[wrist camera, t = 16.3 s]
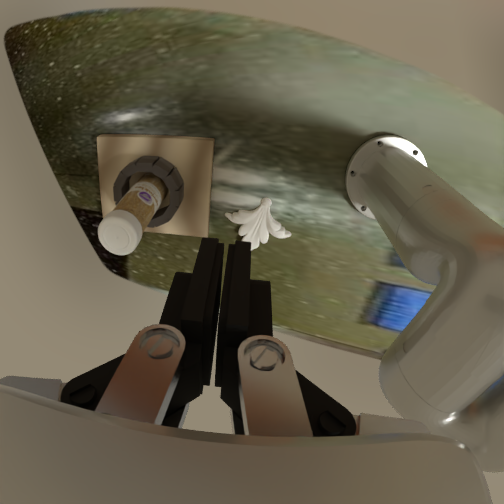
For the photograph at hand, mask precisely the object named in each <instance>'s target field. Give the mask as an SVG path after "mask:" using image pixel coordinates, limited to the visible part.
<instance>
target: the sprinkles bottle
mask: <svg viewBox="0 0 504 504" xmlns="http://www.w3.org/2000/svg"><path fill="white" fill-rule="evenodd" d="M167 193H168V188H167V186H166V184H165V182H164V181H163V179H161V178H159V177H158V176H156V175H155V174H153V173H147V174H144V175H143V176H141V177H140V178H139V180H138V182H137V183H136V184H135V185H133V187H132V188H131V189H130V190H129V191H128V192H127V193H126V194H125V196H124V197H123V198H122V199H121V200H120V201H119V203H118V204H117V206H116V207H115V208H114V209H113V211H111V212H110V213H108V214H107V215H106V216H105V218H104V219H103V220H102V221H101V223H100V225H99V227H98V237H99V240H100V242H101V244H102V245H103V246H104V247H105V248H106V249H107V250H108V251H110V252H111V253H114V254H117V255H126V254H129V253H131V252H132V251H133V250H134V249H135V248H136V247H137V245H138V243H139V242H140V240H141V238H142V233H143V232H144V230H145V228H146V227H147V225H148V224H149V222H150V221H151V219H152V217H153V216H154V214H155V213H156V211H157V209H158V208H159V206H160V204H161V202H162V201H163V200H164V199H165V198H166V196H167Z"/></svg>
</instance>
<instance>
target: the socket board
mask: <svg viewBox="0 0 504 504" xmlns="http://www.w3.org/2000/svg"><path fill="white" fill-rule="evenodd" d="M214 142H215V138H203V137H188V136H169V135H139V134H101V135H99V136H98V137H97V152H98V169H99V182H100V194H101V204H102V213H103V219H104V218H105V216H106V215H107V214H108V213H110V212H111V211H113V209H114V208H115V207H116V206H117V204H118V203H119V201H120V200H121V199H122V198H123V197H124V196H125V194H126V193H127V192H128V191H129V190H130V189H131V188H132V187H133V185H135V184H136V183H137V182H138V180H139V178H140V177H141V176H143V175H144V174H147V173H153V174H155V175H156V176H158V177H159V178H161V179H163V181H164V182H165V184H166V186H167V188H168V193H167V196H166V198H165V199H164V200H163V201H162V202H161V204H160V206H159V208H158V209H157V211H156V213H155V214H154V216H153V217H152V219H151V221H150V222H149V224H148V225H147V227H146V228H145V230H144V231H145V232H156V233H166V234H176V235H187V236H197V237H208V233H209V218H210V200H211V184H212V169H213V155H214Z"/></svg>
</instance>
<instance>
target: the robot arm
mask: <svg viewBox="0 0 504 504" xmlns="http://www.w3.org/2000/svg"><path fill="white" fill-rule="evenodd" d="M378 141H379V142H380V143H379V144H377V143H378ZM413 150H414V152H413ZM351 171H353V173H351ZM345 184H346V190H347V193H348V196H349V198H350V200H351V202H352V203H353V205H354V206H355V208H356V209H357V210H358V211H359V212H360V213H362V214H363V215H365V216H367V217H369V218H371V219H374V220H377V221H378V223H379V225H380V226H381V228H382V229H383V231H384V232H385V234H386V236H387V237H388V239H389V240H390V242H391V244H392V245H393V247H394V248H395V250H396V252H397V253H398V255H399V257H400V258H401V260H402V262H403V263H404V265H405V266H406V268H407V269H408V270H409V272H410V273H411V274H412V275H414V276H415V277H416V278H418V279H419V280H421V281H423V282H425V283H428V284H432V285H436V286H437V287H436V288H435V290H434V291H433V293H432V294H431V296H430V297H429V298H428V299H427V301H426V303H425V304H424V306H423V307H422V308H421V309H420V311H419V312H418V313H417V314H416V316H415V317H414V318H413V319H412V320H411V322H410V323H409V324H408V325H407V326H406V328H405V329H404V330H403V331H402V332H401V333H400V335H399V336H398V337H397V338H396V340H395V341H394V342H393V343H392V344H391V346H390V347H389V348H388V350H387V351H386V353H385V354H384V356H383V358H382V360H381V363H380V367H379V382H380V386H381V389H382V391H383V393H384V395H385V397H386V399H387V400H388V402H389V403H390V404H391V406H392V407H393V408H394V409H395V410H396V411H397V412H398V413H399V414H400V415H401V416H402V417H403V418H404V419H401V418H393V417H385V416H378V415H371V414H365V413H360V415H359V416H358V415H352V414H351V413H350V412H349V411H348V410H347V409H346V408H345V407H344V406H342V405H341V404H340V403H338V402H337V401H336V400H334V399H333V398H332V397H330V396H329V395H328V394H326V393H325V392H324V391H322V390H321V389H320V388H318V387H317V386H316V385H314V384H313V383H312V382H311V381H309V380H308V379H307V378H305V377H304V376H303V375H301V374H300V373H299V372H298V371H296V370H295V367H294V364H293V360H292V357H291V353H290V351H289V349H288V347H287V346H286V345H285V344H284V343H283V342H282V341H280V340H278V339H277V338H274V337H273V333H272V332H273V330H272V306H271V285H270V281H262V280H252V279H250V266H251V242H246V241H237V240H236V242H235V244H229V248H228V255H227V262H226V269H225V276H224V283H223V291H222V298H221V306H220V296H221V281H222V267H223V254H224V243H218V242H219V239H217V238H207V237H203V238H202V241H201V245H200V248H199V252H198V255H197V259H196V263H195V266H194V270H193V273H184V272H176V273H175V276H174V279H173V282H172V285H171V288H170V291H169V294H168V297H167V300H166V303H165V306H164V309H163V313H162V316H161V319H160V322H159V324H155V325H151V326H148V327H145V328H144V329H142V330H141V331H139V333H138V334H137V335H136V337H135V338H134V340H133V342H132V343H131V345H130V347H129V349H128V350H127V352H126V353H125V354H123V355H121V356H120V357H117V358H115V359H113V360H111V361H109V362H107V363H105V364H103V365H101V366H99V367H97V368H94V369H92V370H90V371H88V372H86V373H84V374H82V375H80V376H77V377H75V378H73V379H72V380H70V381H69V382H68V383H62V381H61V380H60V379H43V378H30V377H18V376H6V377H4V378H2V379H0V504H492V500H491V496H490V492H489V489H488V485H487V482H486V479H485V476H484V474H483V471H485V472H503V471H504V228H503V227H502V226H500V225H499V224H497V223H496V222H495V221H493V220H492V219H490V218H489V217H488V216H487V215H485V214H484V213H483V212H482V211H480V210H479V209H478V208H477V207H476V206H474V205H473V204H472V203H471V202H470V201H469V200H467V199H466V198H465V197H464V196H463V195H461V194H460V193H459V192H458V191H456V190H455V189H454V188H453V187H452V186H450V185H449V184H448V183H447V182H445V181H444V180H443V179H442V178H440V177H439V176H438V175H437V174H435V173H434V172H433V171H431V170H430V169H429V168H428V167H427V163H426V160H425V158H424V155H423V154H422V152H421V151H420V149H419V148H418V147H417V146H416V145H415V144H413V143H412V142H410V141H409V140H407V139H405V138H403V137H399V136H396V135H383V136H378V137H375V138H372V139H370V140H369V141H367V142H365V143H364V144H363V145H361V146H360V147H359V148H358V149H357V150H356V152H355V153H354V154H353V156H352V157H351V159H350V161H349V164H348V166H347V170H346V177H345ZM362 206H363V207H362ZM219 308H220V313H219ZM218 316H219V322H218ZM217 323H218V335H217V353H216V374H215V386H216V387H221V397H220V398H221V399H222V400H223V401H224V402H225V403H226V404H227V405H228V406H229V407H230V408H231V410H230V415H231V423H232V432H233V434H222V433H213V432H204V431H195V430H188V429H182V426H183V423H184V420H185V417H186V414H187V412H188V408H189V402H191V401H192V400H194V399H195V398H197V397H199V396H200V394H202V391H203V385H207V386H209V385H210V378H211V370H212V363H213V355H214V346H215V339H216V331H217Z"/></svg>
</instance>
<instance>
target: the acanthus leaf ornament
mask: <svg viewBox="0 0 504 504" xmlns="http://www.w3.org/2000/svg"><path fill="white" fill-rule="evenodd" d="M271 204H272V201H271V200H270V199H269V198H263V199H262V200H261V205H260V206H259V207H258V208H256V209H255V210H252V211H247V210H239V211H238V212H234V213H233V214H231V213H225V216H226V217H227V218H228V219H229V220H230V221H232V222H234V223H236V224H242V225H241V227H240V228H239V231H238V233H239V235H240V236H244V235H245V236H244V237H243V239H242V241H246V242H251V250H253V249H255V248H257V247H259V240H260V241H261V243H266V242H267V241H268V238H269V233H271V234H272V235H273V236H275V237H277V238H286V237H290V236H291V232H289V231H285V228H284V227H281V224H280V223H279V222H277V221H276V220H274V219H273V218H272V216H271V214H270V206H271Z"/></svg>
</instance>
